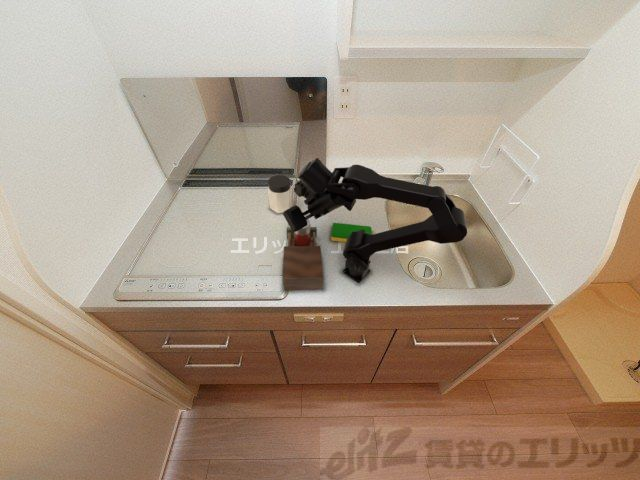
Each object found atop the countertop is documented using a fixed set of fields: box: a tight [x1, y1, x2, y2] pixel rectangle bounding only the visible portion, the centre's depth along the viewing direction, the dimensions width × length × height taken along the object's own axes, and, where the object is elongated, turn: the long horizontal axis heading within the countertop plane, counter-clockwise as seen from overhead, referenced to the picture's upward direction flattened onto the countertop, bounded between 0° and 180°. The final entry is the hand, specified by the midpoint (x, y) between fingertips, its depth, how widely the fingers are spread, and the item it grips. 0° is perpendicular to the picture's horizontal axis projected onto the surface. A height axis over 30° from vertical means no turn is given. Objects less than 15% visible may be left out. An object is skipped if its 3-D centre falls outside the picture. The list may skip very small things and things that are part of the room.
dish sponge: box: [330, 222, 372, 243], centre depth 96 cm, size 7×14×2 cm, turn 83°
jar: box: [267, 174, 293, 214], centre depth 102 cm, size 9×8×12 cm
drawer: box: [286, 226, 318, 246], centre depth 90 cm, size 16×10×4 cm, turn 4°
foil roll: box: [294, 218, 311, 246], centre depth 86 cm, size 5×5×10 cm
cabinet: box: [282, 245, 324, 292], centre depth 82 cm, size 12×11×6 cm
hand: (300, 215), depth 82 cm, fingers open, 9 cm apart
